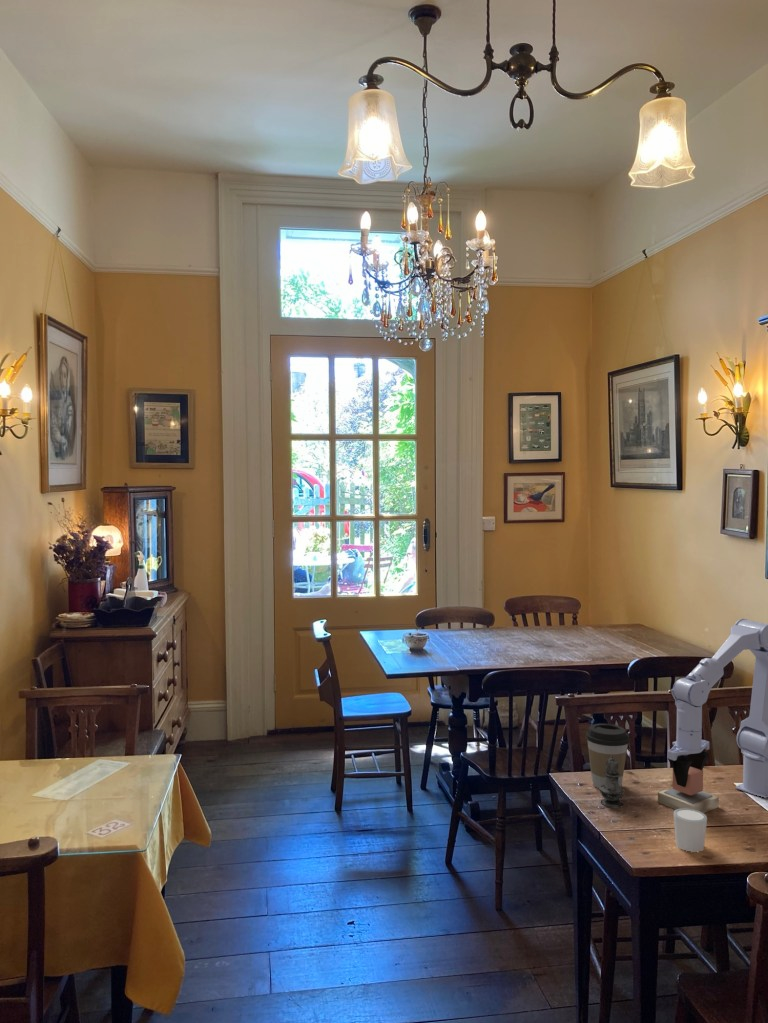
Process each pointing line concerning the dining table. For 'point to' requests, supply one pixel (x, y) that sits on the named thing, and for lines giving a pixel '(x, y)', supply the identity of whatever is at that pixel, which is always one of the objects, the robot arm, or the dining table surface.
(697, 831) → the shot glass
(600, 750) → the coffee cup
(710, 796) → the base
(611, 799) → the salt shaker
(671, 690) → the robot arm
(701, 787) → the block
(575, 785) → the dining table surface
